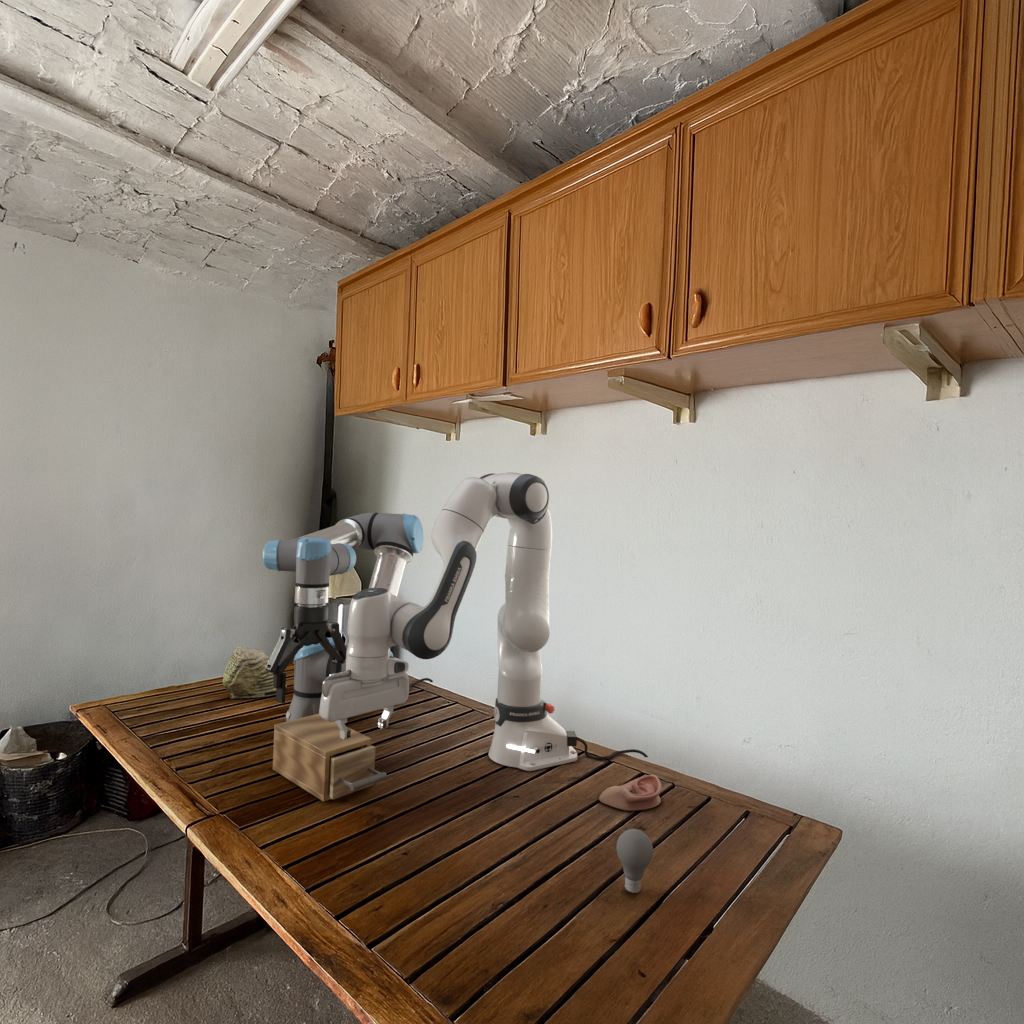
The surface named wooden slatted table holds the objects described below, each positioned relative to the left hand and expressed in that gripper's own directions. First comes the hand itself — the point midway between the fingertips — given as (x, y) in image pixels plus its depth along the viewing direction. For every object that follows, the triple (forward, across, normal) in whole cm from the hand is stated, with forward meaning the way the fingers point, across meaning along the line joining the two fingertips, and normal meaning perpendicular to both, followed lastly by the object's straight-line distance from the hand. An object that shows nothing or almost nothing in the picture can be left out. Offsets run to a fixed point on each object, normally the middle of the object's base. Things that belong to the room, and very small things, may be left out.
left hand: (307, 695), depth 147 cm
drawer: (+16, 0, -12) cm, 20 cm away
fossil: (+17, +17, +58) cm, 63 cm away
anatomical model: (+17, +43, -61) cm, 76 cm away
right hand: (+2, 0, -22) cm, 22 cm away
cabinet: (+17, 0, -6) cm, 18 cm away
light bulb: (+17, +14, -78) cm, 82 cm away
